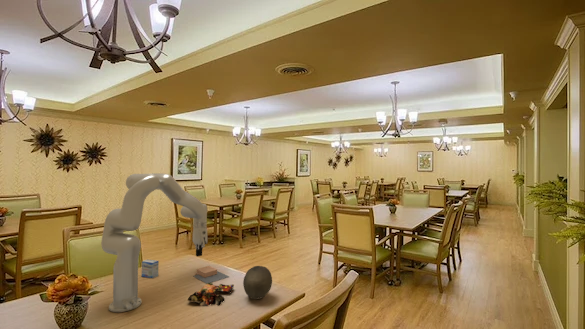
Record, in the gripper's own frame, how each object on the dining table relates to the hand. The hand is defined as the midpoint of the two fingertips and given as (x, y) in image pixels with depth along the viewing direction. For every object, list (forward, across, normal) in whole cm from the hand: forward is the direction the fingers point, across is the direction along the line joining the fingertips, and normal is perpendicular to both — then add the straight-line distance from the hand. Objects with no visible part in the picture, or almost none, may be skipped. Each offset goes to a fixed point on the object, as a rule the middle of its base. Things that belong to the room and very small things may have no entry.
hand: (198, 255), depth 173 cm
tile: (+8, -4, -1) cm, 8 cm away
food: (+10, -34, +12) cm, 38 cm away
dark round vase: (+10, -52, -2) cm, 53 cm away
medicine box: (+10, +12, +23) cm, 28 cm away
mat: (+9, -13, -1) cm, 16 cm away
